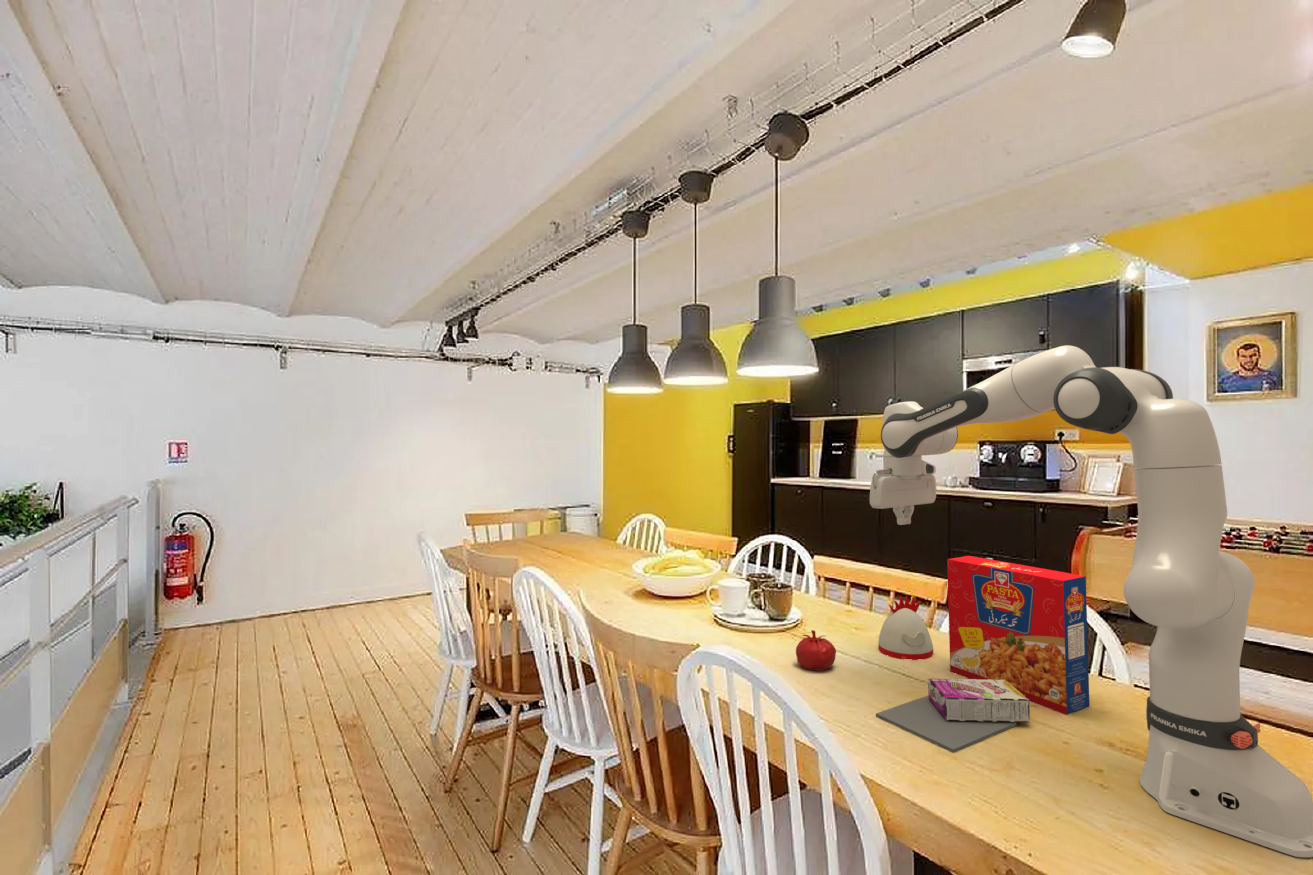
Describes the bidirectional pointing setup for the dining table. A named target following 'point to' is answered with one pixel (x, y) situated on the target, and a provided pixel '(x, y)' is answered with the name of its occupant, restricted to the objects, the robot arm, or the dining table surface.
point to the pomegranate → (815, 653)
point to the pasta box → (1020, 629)
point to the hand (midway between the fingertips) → (904, 524)
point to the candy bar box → (978, 700)
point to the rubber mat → (940, 725)
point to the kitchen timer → (905, 633)
